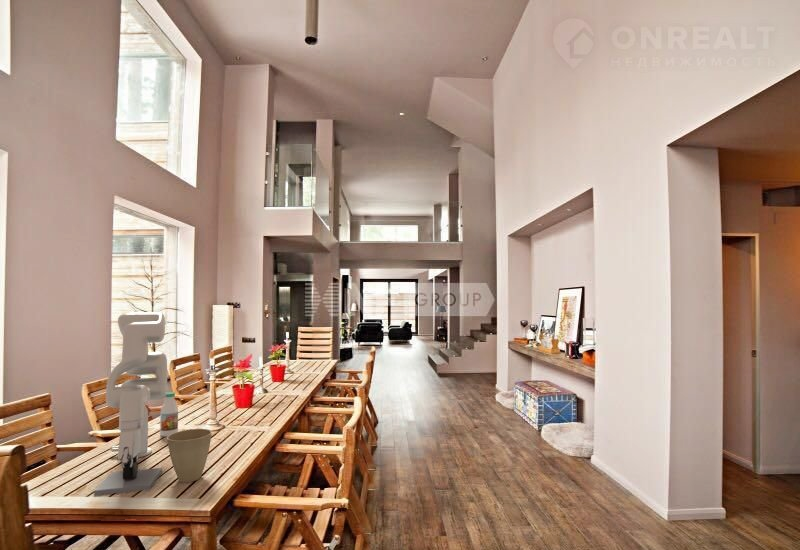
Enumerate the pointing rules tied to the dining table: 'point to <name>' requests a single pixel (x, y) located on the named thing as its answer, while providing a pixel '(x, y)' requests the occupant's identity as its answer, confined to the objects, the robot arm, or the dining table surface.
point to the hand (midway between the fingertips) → (130, 475)
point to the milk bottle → (169, 416)
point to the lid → (129, 481)
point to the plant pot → (189, 452)
